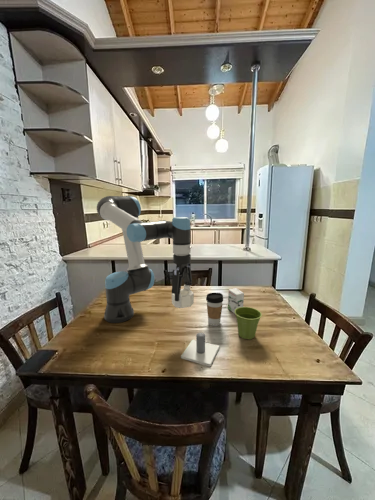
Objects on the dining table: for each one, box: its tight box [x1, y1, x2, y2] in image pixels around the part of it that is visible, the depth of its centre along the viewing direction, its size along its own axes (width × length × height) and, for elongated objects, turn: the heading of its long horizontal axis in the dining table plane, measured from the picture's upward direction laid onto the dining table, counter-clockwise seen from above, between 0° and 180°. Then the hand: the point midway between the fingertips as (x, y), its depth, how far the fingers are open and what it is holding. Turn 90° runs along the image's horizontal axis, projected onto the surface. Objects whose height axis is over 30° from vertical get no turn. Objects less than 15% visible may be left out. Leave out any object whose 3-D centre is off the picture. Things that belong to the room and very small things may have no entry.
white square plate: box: [180, 332, 220, 367], centre depth 92 cm, size 12×12×8 cm
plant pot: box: [234, 306, 263, 340], centre depth 104 cm, size 12×12×11 cm
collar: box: [171, 288, 195, 309], centre depth 103 cm, size 9×9×5 cm
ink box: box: [227, 287, 245, 315], centre depth 128 cm, size 9×5×12 cm, turn 23°
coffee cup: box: [205, 292, 224, 327], centre depth 115 cm, size 8×8×15 cm
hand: (182, 302), depth 103 cm, fingers closed on collar, 9 cm apart
